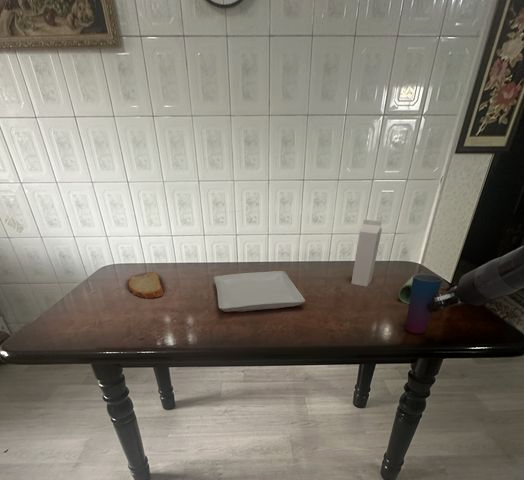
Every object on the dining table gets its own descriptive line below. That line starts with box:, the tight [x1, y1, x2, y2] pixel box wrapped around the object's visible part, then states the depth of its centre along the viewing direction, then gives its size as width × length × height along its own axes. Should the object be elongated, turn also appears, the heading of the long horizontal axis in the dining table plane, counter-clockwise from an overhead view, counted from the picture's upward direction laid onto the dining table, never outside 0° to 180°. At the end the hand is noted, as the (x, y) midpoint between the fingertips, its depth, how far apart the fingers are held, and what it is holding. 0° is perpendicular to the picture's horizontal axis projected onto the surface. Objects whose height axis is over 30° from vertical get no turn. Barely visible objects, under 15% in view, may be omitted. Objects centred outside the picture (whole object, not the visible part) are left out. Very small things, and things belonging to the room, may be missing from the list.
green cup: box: [397, 275, 414, 305], centre depth 100 cm, size 7×7×11 cm
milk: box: [350, 219, 383, 288], centre depth 107 cm, size 6×6×22 cm
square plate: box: [213, 270, 306, 313], centre depth 103 cm, size 27×27×4 cm
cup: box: [405, 272, 444, 334], centre depth 81 cm, size 7×7×15 cm
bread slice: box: [127, 271, 164, 299], centre depth 111 cm, size 18×18×4 cm
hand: (430, 308), depth 78 cm, fingers closed
